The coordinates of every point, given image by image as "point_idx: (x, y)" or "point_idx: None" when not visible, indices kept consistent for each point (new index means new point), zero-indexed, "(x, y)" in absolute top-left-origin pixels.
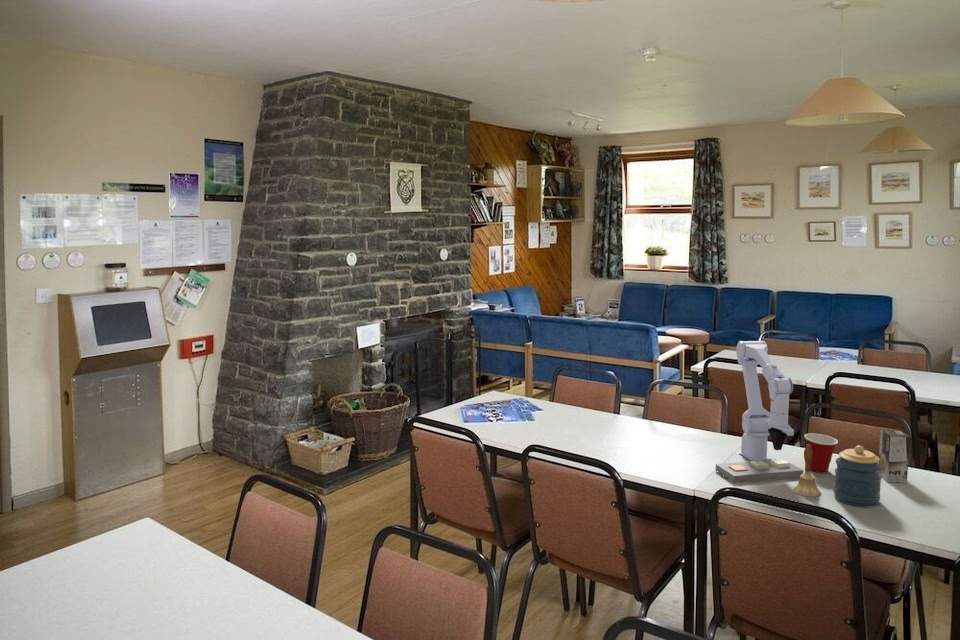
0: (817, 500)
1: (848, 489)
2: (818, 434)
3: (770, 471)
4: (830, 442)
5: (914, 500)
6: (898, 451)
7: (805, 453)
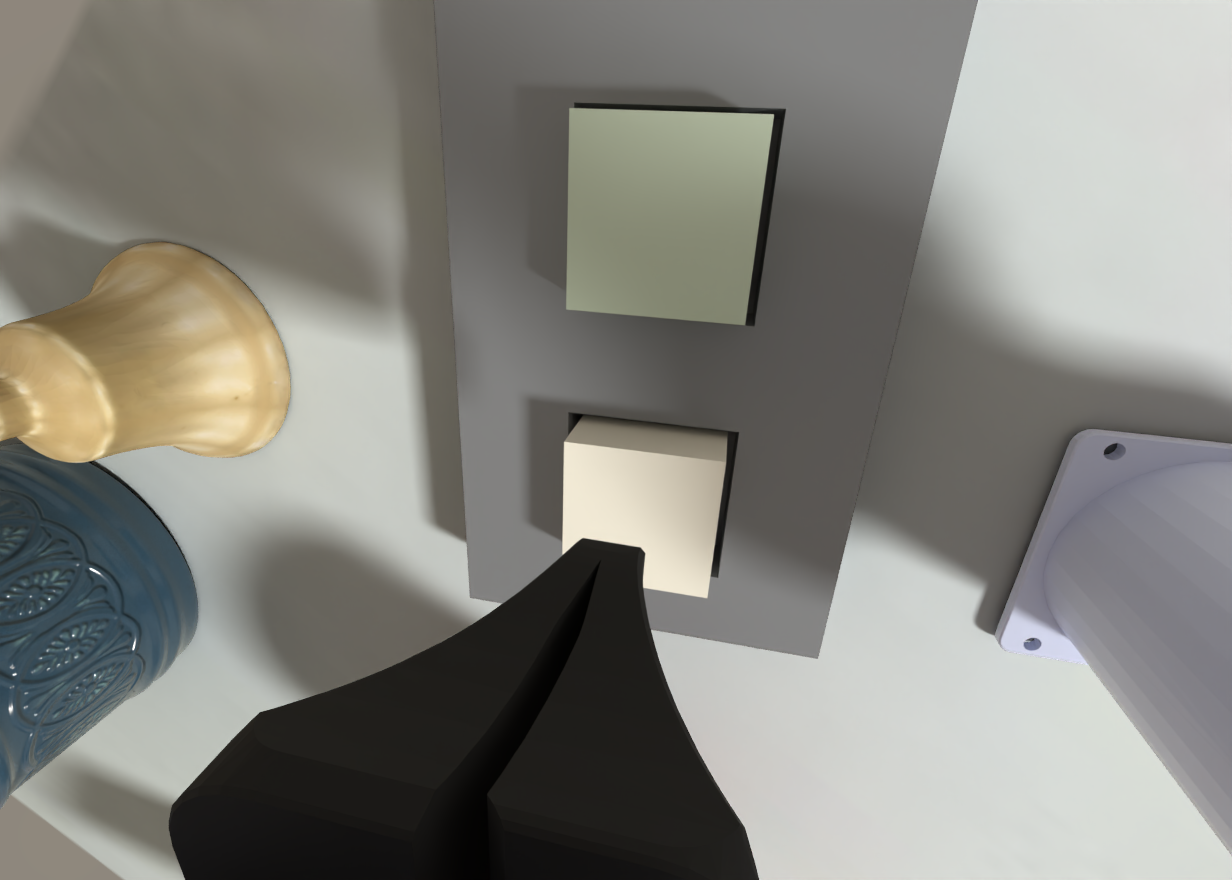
0: (31, 305)
1: None
2: None
3: (492, 262)
4: None
5: (115, 783)
6: None
7: None
